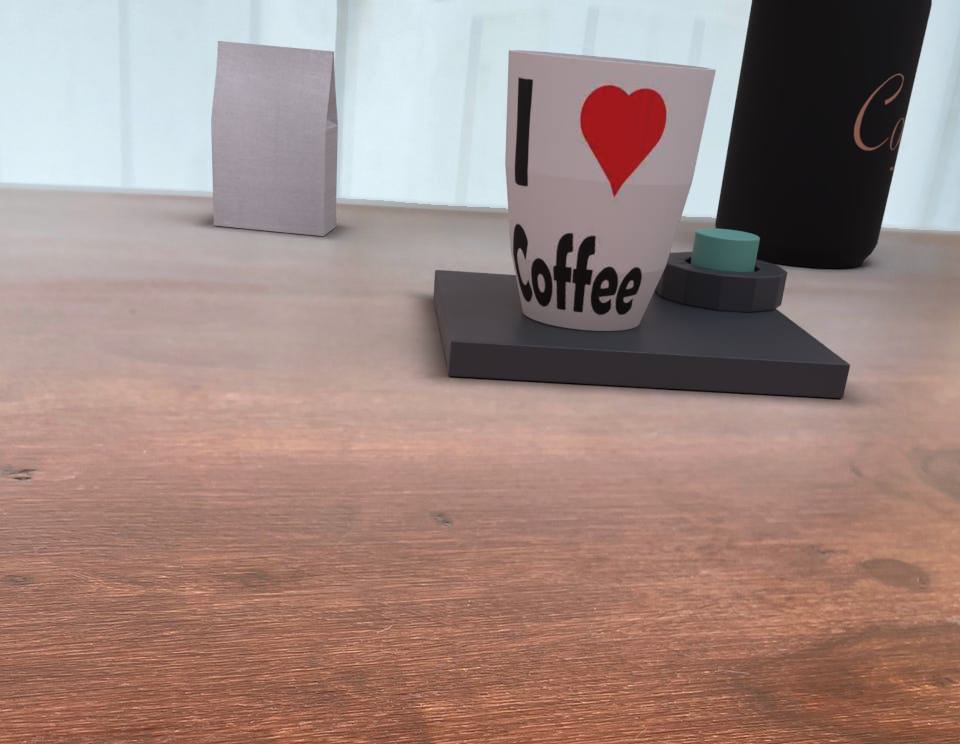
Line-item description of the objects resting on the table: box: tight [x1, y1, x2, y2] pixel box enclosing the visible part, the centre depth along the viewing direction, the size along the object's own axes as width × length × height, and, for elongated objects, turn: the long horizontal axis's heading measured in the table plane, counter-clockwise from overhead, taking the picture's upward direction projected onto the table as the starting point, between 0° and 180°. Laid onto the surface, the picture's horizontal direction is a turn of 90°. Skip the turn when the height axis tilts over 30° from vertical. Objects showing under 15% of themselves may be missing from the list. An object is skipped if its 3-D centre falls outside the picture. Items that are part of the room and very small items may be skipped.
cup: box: [504, 49, 717, 331], centre depth 49 cm, size 8×8×10 cm
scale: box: [433, 251, 851, 399], centre depth 53 cm, size 16×14×3 cm
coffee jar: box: [714, 0, 933, 269], centre depth 75 cm, size 11×11×18 cm
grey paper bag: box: [210, 40, 339, 237], centre depth 71 cm, size 4×7×10 cm, turn 85°
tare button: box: [691, 227, 760, 272], centre depth 56 cm, size 3×3×2 cm
